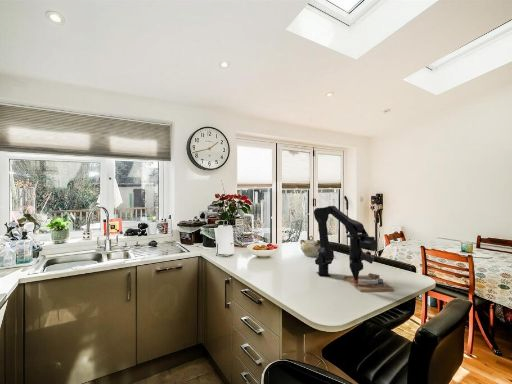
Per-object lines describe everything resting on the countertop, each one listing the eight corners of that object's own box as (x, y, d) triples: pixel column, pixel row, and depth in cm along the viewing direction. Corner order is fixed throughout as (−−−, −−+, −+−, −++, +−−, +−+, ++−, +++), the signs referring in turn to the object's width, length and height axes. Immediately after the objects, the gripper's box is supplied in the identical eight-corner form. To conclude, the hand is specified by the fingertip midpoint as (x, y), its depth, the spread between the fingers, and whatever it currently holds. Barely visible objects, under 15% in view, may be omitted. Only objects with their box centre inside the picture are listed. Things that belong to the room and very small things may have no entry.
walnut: (367, 279, 137) (367, 272, 137) (373, 279, 137) (373, 272, 137) (370, 281, 133) (370, 274, 133) (376, 281, 133) (376, 274, 133)
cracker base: (344, 277, 143) (344, 271, 143) (373, 277, 144) (373, 270, 144) (360, 291, 123) (360, 284, 123) (393, 291, 124) (393, 283, 124)
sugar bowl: (327, 256, 190) (327, 236, 190) (315, 259, 180) (315, 238, 180) (306, 251, 205) (306, 233, 205) (294, 254, 196) (294, 235, 195)
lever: (381, 282, 130) (381, 270, 130) (384, 284, 127) (384, 272, 127) (352, 281, 131) (352, 270, 131) (354, 284, 128) (354, 272, 128)
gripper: (374, 252, 118) (374, 285, 118) (371, 244, 135) (371, 273, 135) (349, 250, 121) (349, 282, 122) (349, 243, 139) (349, 271, 139)
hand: (355, 277), depth 129 cm, fingers open, 9 cm apart
